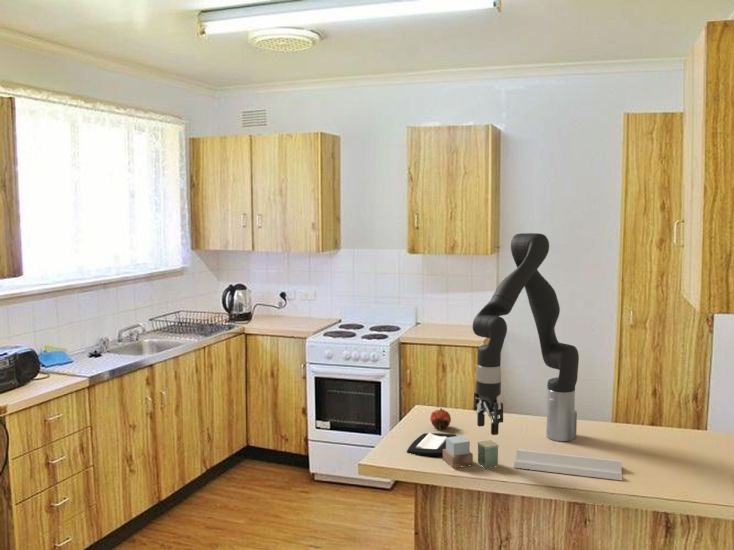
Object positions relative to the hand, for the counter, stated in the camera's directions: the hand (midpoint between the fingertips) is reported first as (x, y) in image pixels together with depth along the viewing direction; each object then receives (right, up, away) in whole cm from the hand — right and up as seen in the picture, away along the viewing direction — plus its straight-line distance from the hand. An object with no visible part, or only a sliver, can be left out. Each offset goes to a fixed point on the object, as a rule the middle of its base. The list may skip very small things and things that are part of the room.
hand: (487, 430), depth 203 cm
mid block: (-9, -8, +3) cm, 12 cm away
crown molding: (+25, -12, 0) cm, 28 cm away
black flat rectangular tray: (-15, -10, +18) cm, 26 cm away
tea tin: (0, -11, +1) cm, 11 cm away
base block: (-9, -12, +4) cm, 15 cm away
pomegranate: (-11, -8, +35) cm, 38 cm away
